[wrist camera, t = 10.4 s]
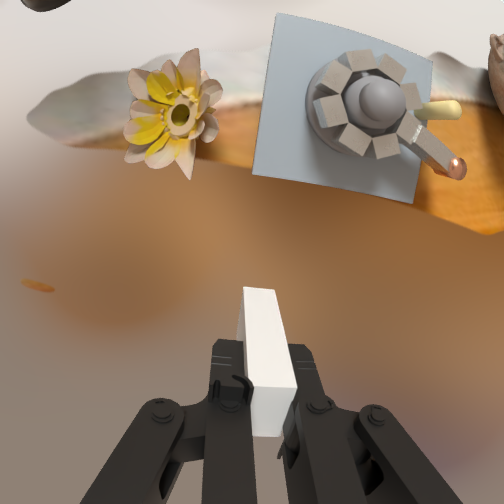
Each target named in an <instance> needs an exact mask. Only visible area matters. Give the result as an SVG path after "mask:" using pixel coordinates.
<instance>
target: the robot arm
mask: <svg viewBox="0 0 504 504" xmlns="http://www.w3.org/2000/svg"><path fill="white" fill-rule="evenodd" d="M21 1H22V3H23V4H24V5H25V6H26V7H28V8H30V9H32V10H34V11H37V12H46V11H50V10H53V9H56V8H58V7H60V6H62V5H64V4H66V3H68V2H69V1H71V0H21ZM282 429H283V433H284V441H283V443H282V445H281V448H280V450H279V452H278V456H277V459H280V458H281V456H283V464H284V471H285V478H286V485H287V493H288V500H289V504H463V503H462V502H461V501H460V499H459V498H458V497H457V495H456V494H455V493H454V492H453V490H452V489H451V488H450V486H449V485H448V484H447V483H446V481H445V480H444V479H443V478H442V476H441V475H440V474H439V472H438V471H437V470H436V469H435V467H434V466H433V465H432V464H431V463H430V461H429V460H428V459H427V457H426V456H425V455H424V454H423V452H422V451H421V450H420V448H419V447H418V446H417V445H416V443H415V442H414V441H413V440H412V438H411V437H410V436H409V435H408V434H407V432H406V431H405V430H404V428H403V427H402V426H401V425H400V423H399V422H398V421H397V419H396V418H395V417H394V416H393V414H392V413H391V412H390V411H389V410H388V409H386V408H384V407H382V406H380V405H374V404H373V405H367V406H365V407H363V408H362V409H361V411H360V412H354V411H349V410H344V409H341V408H338V407H337V406H336V405H335V403H334V401H333V400H332V399H331V398H329V397H328V396H326V395H325V393H324V390H323V387H322V384H321V381H320V377H319V374H318V371H317V370H316V365H315V363H314V359H313V356H312V353H311V351H310V350H309V349H308V348H307V347H306V346H305V345H304V344H287V341H286V337H285V333H284V329H283V324H282V320H281V316H280V311H279V307H278V303H277V299H276V295H275V290H271V289H261V288H251V287H243V293H242V301H241V307H240V314H239V321H238V328H237V341H236V340H226V339H225V340H224V339H218V340H217V342H216V343H215V344H214V345H213V348H212V359H211V370H210V382H209V391H208V395H207V396H206V398H205V399H203V401H201V402H199V403H197V404H194V405H189V406H180V405H179V404H178V403H176V402H174V401H172V400H170V399H165V398H157V399H152V400H150V401H148V402H146V403H145V404H144V405H143V406H142V408H141V409H140V411H139V412H138V414H137V415H136V417H135V418H134V420H133V422H132V423H131V425H130V426H129V428H128V429H127V431H126V432H125V434H124V435H123V437H122V438H121V440H120V442H119V443H118V445H117V446H116V448H115V449H114V451H113V452H112V454H111V455H110V457H109V459H108V460H107V462H106V463H105V465H104V466H103V468H102V469H101V471H100V473H99V474H98V476H97V477H96V479H95V481H94V482H93V484H92V485H91V487H90V488H89V490H88V491H87V493H86V494H85V496H84V498H83V499H82V501H81V502H80V504H166V502H167V500H168V498H169V496H170V493H171V491H172V489H173V487H174V484H175V482H176V480H177V478H178V475H179V473H180V471H181V469H182V466H183V464H184V462H188V461H195V460H201V459H204V464H203V465H204V466H203V483H202V504H257V494H256V479H255V465H254V451H253V438H252V437H253V436H265V437H266V436H267V437H279V436H280V435H281V432H282Z"/></svg>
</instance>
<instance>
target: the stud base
mask: <svg viewBox="0 0 504 504" xmlns="http://www.w3.org/2000/svg"><path fill="white" fill-rule="evenodd" d="M364 49H371V50H372V53H373V56H374V58H376V57H378V56H380V55H382V54H384V53H386V54H387V55H389V56H390V57H391V58H393V59H394V60H395V61H397V62H398V63H399V64H401V65H402V66H403V67H404V68H406V69H407V71H406V73H405V75H404V77H403V79H402V81H401V83H400V84H407V83H416V85H417V88H418V92H419V95H420V99H421V103H422V107H423V109H417V110H410V111H408V112H409V113H411V114H412V115H413V116H414V117H415V118H417V119H418V120H419V121H420V122H421V126H424V127H425V128H426V127H427V120H458V119H459V118H460V117H461V115H462V110H461V107H460V105H459V103H458V102H457V101H454V100H450V101H438V102H430V92H431V80H432V65H433V62H432V61H430V60H428V59H426V58H424V57H421V56H419V55H417V54H415V53H412V52H410V51H408V50H405V49H403V48H400V47H398V46H395V45H393V44H390V43H388V42H385V41H382V40H380V39H377V38H374V37H371V36H368V35H365V34H362V33H359V32H356V31H352V30H349V29H346V28H343V27H339V26H336V25H332V24H328V23H324V22H320V21H316V20H311V19H307V18H303V17H298V16H293V15H288V14H283V13H277V14H276V17H275V23H274V29H273V36H272V42H271V48H270V54H269V61H268V67H267V74H266V80H265V87H264V93H263V100H262V106H261V113H260V119H259V126H258V133H257V140H256V146H255V153H254V160H253V167H252V174H253V175H260V176H267V177H275V178H282V179H287V180H294V181H300V182H306V183H312V184H318V185H323V186H329V187H334V188H340V189H345V190H350V191H355V192H360V193H365V194H370V195H375V196H379V197H384V198H388V199H393V200H397V201H402V202H406V203H410V204H413V199H414V195H415V190H416V185H417V180H418V175H419V170H420V165H421V159H420V158H419V157H418V156H417V155H415V154H414V153H413V152H412V151H411V150H409V149H408V148H407V147H405V146H404V145H403V144H399V148H400V152H401V153H400V154H396V155H392V156H388V157H384V158H380V159H373V158H368V157H366V153H364V155H363V157H362V156H357V155H352V154H351V153H349V152H348V151H346V150H345V149H343V148H341V147H340V146H338V145H337V144H335V143H333V142H332V141H330V140H331V138H332V136H333V134H334V133H335V131H336V129H337V127H338V125H336V126H332V127H327V128H320V124H319V121H318V118H317V114H316V111H315V108H314V105H313V101H315V100H317V99H319V98H324V97H328V95H327V94H325V93H323V92H322V91H320V90H318V89H317V88H315V87H314V86H315V84H316V82H317V80H318V79H319V77H320V75H321V73H322V72H323V70H324V68H325V66H326V65H327V64H329V63H330V62H331V61H332V60H335V61H337V62H338V59H337V58H338V57H339V56H341V55H342V54H343V53H345V52H348V51H355V50H364ZM341 98H342V101H343V104H344V108H345V111H346V114H347V118H348V121H349V123H351V124H352V125H354V126H355V127H357V128H358V129H360V130H361V131H363V132H364V133H366V134H367V135H369V136H371V135H376V134H380V133H384V132H385V130H386V128H387V127H390V126H391V125H393V124H394V123H395V122H396V121H397V119H399V118H400V117H401V116H402V115H403V113H404V112H405V109H406V98H405V95H404V93H403V91H402V89H401V88H400V87H399V86H398V85H397V84H396V83H395V82H393V81H391V80H388V79H384V78H382V77H379V76H371V75H370V74H368V73H362V74H356V75H351V76H350V78H349V80H348V81H347V83H346V85H345V87H344V89H343V90H342V92H341Z"/></svg>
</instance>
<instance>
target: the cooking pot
mask: <svg viewBox="0 0 504 504" xmlns="http://www.w3.org/2000/svg"><path fill="white" fill-rule="evenodd" d="M495 40H496V41H495ZM490 45H491V50H490V54H489V58H488V74H489V80H490V85H491V89H492V92H493V95H494V98H495V100H496V103H497V105H498V107H499V109H500V111H501V113H502V114H503V116H504V34H503V35H501V36H499V37H498V36H497V35H495V34H491V35H490Z"/></svg>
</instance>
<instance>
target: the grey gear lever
mask: <svg viewBox="0 0 504 504" xmlns="http://www.w3.org/2000/svg"><path fill="white" fill-rule="evenodd" d="M337 59H338V62H337V61H335V60H332V61H331V62H330V63H329V64H327V65H326V66H325V68H324V70H323V72H322V73H321V75H320V77H319V79H318V80H317V82H316V84H315V86H314V87H315V88H317V89H318V90H320V91H322V92H323V93H325V94H327V95H328V97H324V98H319V99H317V100H315V101H313V105H314V108H315V111H316V114H317V118H318V121H319V124H320V128H327V127H332V126H336V125H338V127H337V129H336V131H335V133H334V134H333V136H332V138H331V140H330V141H332V142H333V143H335V144H337V145H338V146H340V147H341V148H343V149H345V150H346V151H348V152H349V153H351V154H352V155H357V156H362V157H363V155H364V153H366V157H368V158H373V159H380V158H384V157H388V156H392V155H396V154H400V153H401V152H400V148H399V144H403V145H404V146H405V147H407V148H408V149H409V150H411V151H412V152H413V153H414V154H415V155H417V156H418V157H419V158H420V159H422V160H423V161H424V162H425V163H426V164H428V165H429V166H430V167H431V168H432V169H433V171H434V172H435V173H436V174H438V175H442V176H445V177H449V178H452V179H456V180H462V179H463V178H464V177H465V175H466V172H467V166H466V163H465V161H464V160H463V159H462V158H458V157H457V156H456V155H455V154H454V153H452V152H451V151H450V150H449V149H448V148H447V147H446V146H445V145H444V144H443V143H442V142H441V141H440V140H439V139H438V138H436V137H435V136H434V135H433V134H432V133H431V132H430V131H429V130H427V129H426V128H425V127H424V126H421V122H420V121H419V120H418V119H417V118H415V117H414V116H413V115H412V114H411V113H409V112H408V111H410V110H417V109H423V107H422V103H421V99H420V95H419V92H418V88H417V85H416V83H407V84H400V83H401V81H402V79H403V77H404V75H405V73H406V71H407V69H406V68H404V67H403V66H402V65H401V64H399V63H398V62H397V61H395V60H394V59H393V58H391V57H390V56H389V55H387V54H386V53H384V54H382V55H380V56H378V57H376V58H374V56H373V53H372V50H371V49H364V50H355V51H348V52H345V53H343V54H342V55H341V56H339V57H338V58H337ZM362 73H368V74H370V75H371V76H379V77H382V78H384V79H388V80H391V81H393V82H395V83H396V84H397V85H398V86H399V87H400V88H401V89H402V91H403V93H404V95H405V98H406V109H405V112H404V113H403V115H402V116H401V117H400V118H399V119H397V121H396V122H395V123H394V124H393V125H391V126H390V127H387V128H386V130H385V132H384V133H380V134H376V135H371V136H369V135H367V134H366V133H364V132H363V131H361V130H360V129H358V128H357V127H355V126H354V125H352V124H351V123H349V121H348V118H347V114H346V111H345V108H344V104H343V101H342V98H341V92H342V90H343V89H344V87H345V85H346V83H347V81H348V80H349V78H350V76H351V75H356V74H362Z"/></svg>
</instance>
